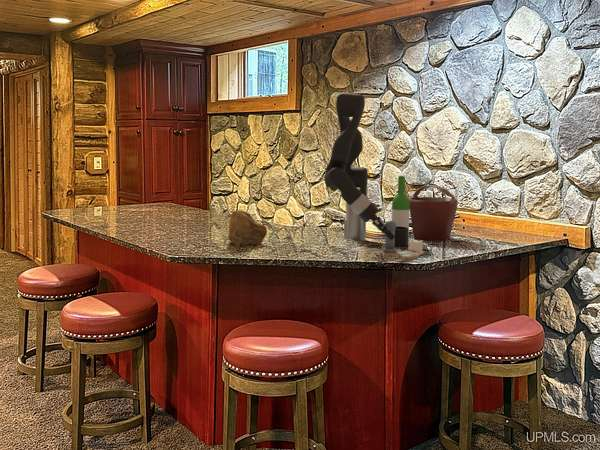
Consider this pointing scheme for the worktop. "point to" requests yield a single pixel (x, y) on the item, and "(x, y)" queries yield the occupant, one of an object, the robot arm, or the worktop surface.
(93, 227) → the worktop surface
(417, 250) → the die
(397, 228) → the mug
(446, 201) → the bucket
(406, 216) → the wine bottle
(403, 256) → the board
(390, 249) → the pawn
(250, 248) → the worktop surface
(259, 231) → the rough brown rock
